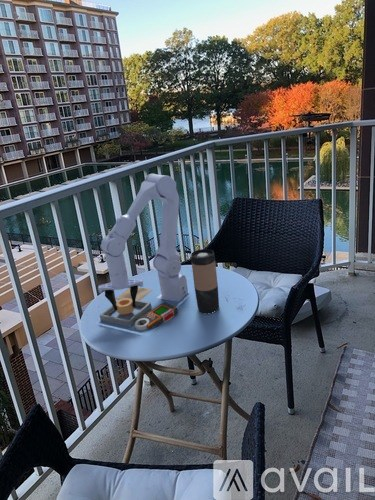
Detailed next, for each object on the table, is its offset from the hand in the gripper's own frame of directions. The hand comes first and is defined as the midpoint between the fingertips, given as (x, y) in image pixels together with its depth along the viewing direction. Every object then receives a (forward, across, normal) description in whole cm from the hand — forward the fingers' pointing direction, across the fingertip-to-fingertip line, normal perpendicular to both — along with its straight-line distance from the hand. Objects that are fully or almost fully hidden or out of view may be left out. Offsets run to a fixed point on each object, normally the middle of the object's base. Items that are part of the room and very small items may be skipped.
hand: (125, 307), depth 124 cm
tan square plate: (+3, -2, -14) cm, 14 cm away
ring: (+1, 0, 0) cm, 1 cm away
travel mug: (+3, -28, +4) cm, 28 cm away
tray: (+3, 0, 0) cm, 3 cm away
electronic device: (+4, -10, +6) cm, 12 cm away
